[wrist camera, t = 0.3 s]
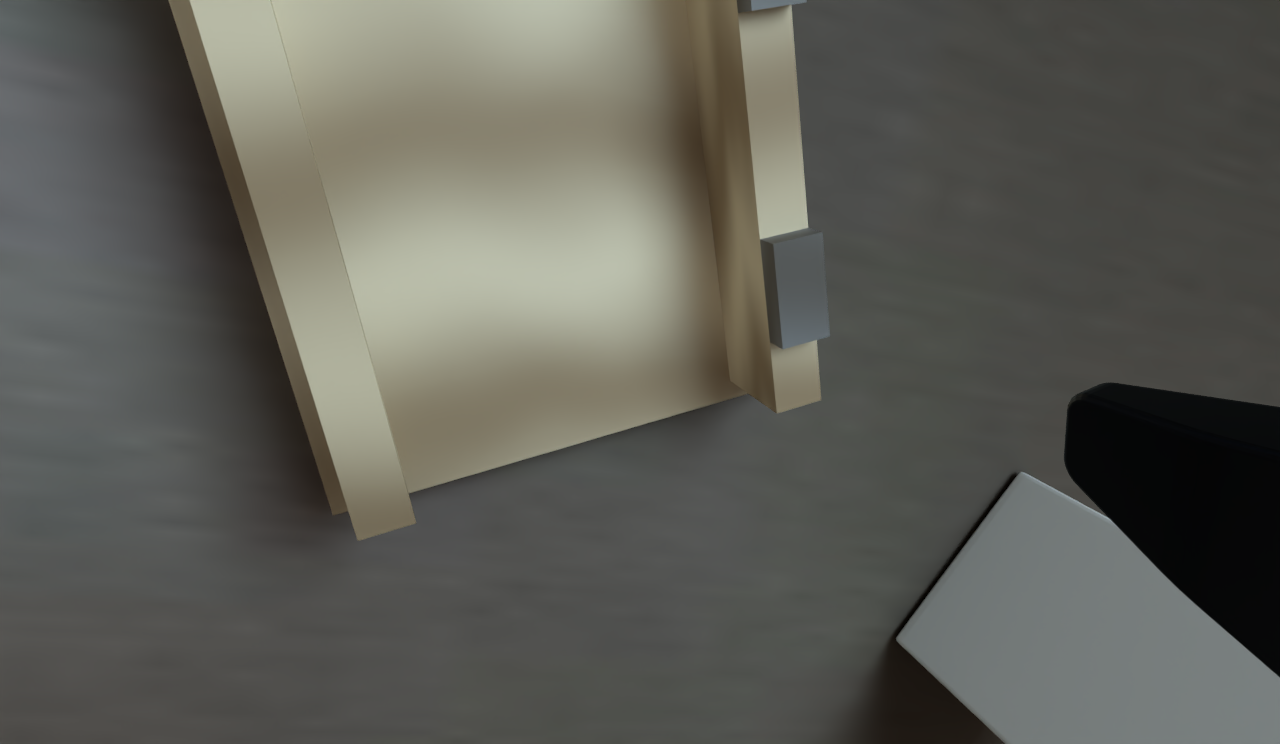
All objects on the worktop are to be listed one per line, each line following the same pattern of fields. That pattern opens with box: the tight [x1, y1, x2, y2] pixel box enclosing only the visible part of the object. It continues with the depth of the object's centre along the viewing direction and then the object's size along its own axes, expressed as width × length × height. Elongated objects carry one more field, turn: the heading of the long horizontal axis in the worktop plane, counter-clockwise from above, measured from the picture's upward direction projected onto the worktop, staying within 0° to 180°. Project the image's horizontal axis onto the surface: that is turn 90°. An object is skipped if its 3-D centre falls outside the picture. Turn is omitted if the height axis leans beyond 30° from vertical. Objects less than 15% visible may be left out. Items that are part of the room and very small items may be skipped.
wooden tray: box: [169, 0, 830, 541], centre depth 18 cm, size 14×12×4 cm
